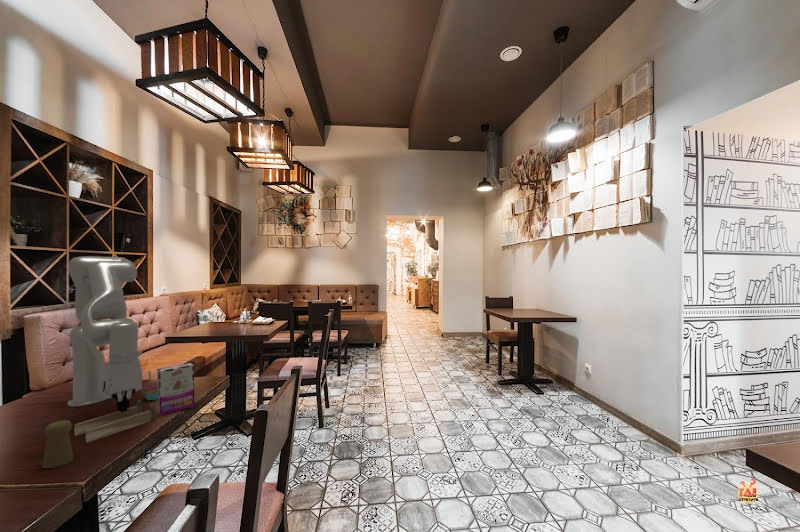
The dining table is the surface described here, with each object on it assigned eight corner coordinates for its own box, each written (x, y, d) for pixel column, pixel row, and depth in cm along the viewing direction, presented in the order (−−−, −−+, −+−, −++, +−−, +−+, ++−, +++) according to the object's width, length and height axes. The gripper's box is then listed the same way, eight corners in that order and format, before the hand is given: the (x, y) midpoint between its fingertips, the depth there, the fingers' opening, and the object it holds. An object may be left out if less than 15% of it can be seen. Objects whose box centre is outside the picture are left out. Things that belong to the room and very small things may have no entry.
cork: (56, 457, 92) (57, 418, 93) (79, 455, 93) (80, 416, 93) (34, 470, 86) (35, 428, 87) (59, 468, 87) (59, 426, 87)
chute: (74, 435, 105) (74, 419, 105) (140, 413, 121) (140, 399, 121) (87, 443, 100) (87, 426, 100) (154, 419, 116) (154, 404, 116)
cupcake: (146, 404, 130) (146, 373, 130) (137, 400, 134) (137, 370, 135) (171, 397, 137) (170, 368, 137) (161, 393, 142) (161, 365, 142)
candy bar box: (191, 403, 130) (191, 362, 130) (194, 407, 126) (194, 364, 126) (156, 412, 122) (156, 368, 122) (159, 416, 118) (159, 371, 119)
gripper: (143, 351, 121) (143, 400, 121) (90, 361, 108) (89, 416, 108) (153, 354, 117) (153, 405, 117) (100, 365, 104) (99, 422, 104)
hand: (122, 410), depth 113 cm, fingers closed
